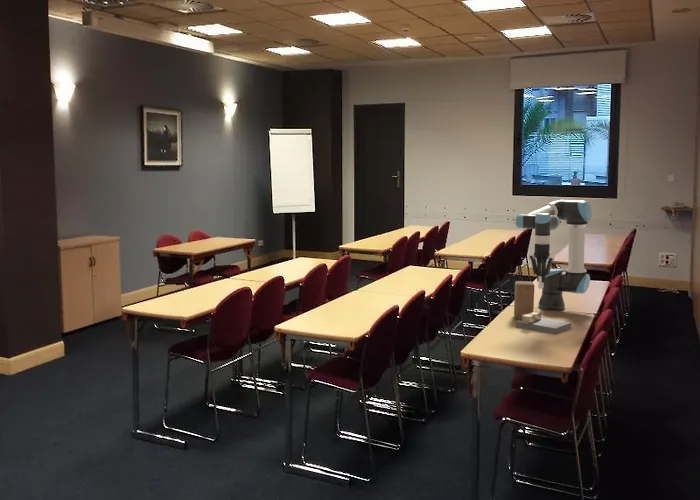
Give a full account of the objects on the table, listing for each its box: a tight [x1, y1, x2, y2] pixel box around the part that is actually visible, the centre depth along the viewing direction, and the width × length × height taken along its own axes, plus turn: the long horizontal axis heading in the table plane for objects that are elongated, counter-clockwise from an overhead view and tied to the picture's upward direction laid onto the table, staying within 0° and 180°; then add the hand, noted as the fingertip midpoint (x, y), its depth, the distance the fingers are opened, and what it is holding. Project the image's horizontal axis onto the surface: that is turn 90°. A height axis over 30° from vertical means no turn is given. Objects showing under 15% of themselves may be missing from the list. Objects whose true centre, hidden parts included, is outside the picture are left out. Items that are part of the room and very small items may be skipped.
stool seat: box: [515, 314, 572, 335], centre depth 345 cm, size 17×22×6 cm
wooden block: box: [513, 280, 535, 320], centre depth 366 cm, size 10×10×20 cm
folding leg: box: [521, 310, 542, 324], centre depth 347 cm, size 17×4×4 cm, turn 139°
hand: (540, 288), depth 344 cm, fingers closed
